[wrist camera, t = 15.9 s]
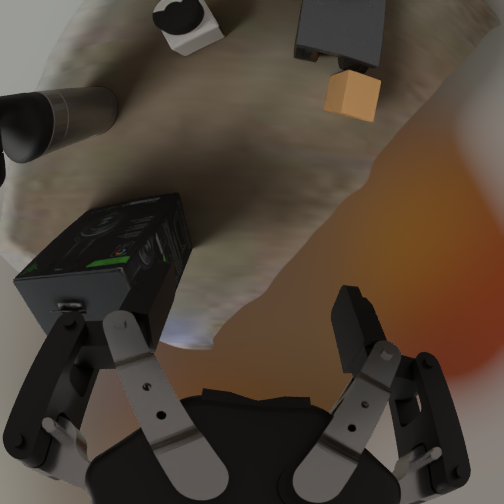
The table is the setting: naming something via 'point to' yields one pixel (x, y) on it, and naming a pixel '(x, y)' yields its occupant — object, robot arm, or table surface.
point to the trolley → (341, 32)
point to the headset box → (104, 258)
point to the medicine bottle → (187, 24)
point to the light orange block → (353, 95)
